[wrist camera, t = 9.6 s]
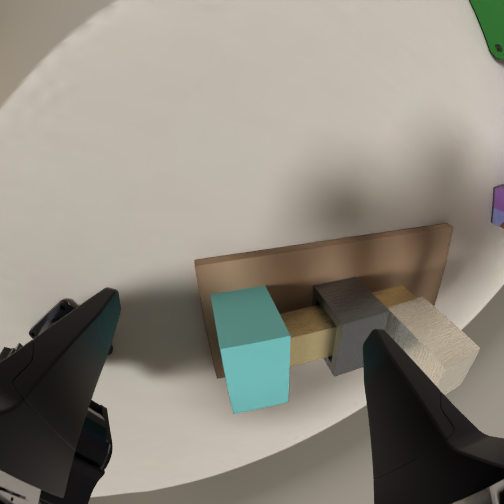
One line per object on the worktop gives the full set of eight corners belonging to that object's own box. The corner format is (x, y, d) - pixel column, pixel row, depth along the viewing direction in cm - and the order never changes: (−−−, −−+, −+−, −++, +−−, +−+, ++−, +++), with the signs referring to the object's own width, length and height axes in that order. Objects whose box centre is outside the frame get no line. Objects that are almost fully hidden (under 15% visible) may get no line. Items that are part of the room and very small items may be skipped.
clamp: (476, 45, 21) (531, 69, 16) (465, 45, 20) (528, 72, 14) (472, -26, 12) (531, -6, 7) (460, -35, 11) (527, -14, 5)
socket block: (221, 359, 24) (233, 413, 19) (210, 294, 21) (220, 349, 16) (268, 351, 25) (288, 402, 20) (265, 285, 22) (290, 335, 17)
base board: (215, 371, 26) (216, 378, 25) (194, 260, 21) (194, 266, 20) (425, 315, 30) (429, 319, 29) (446, 223, 25) (452, 226, 24)
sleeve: (310, 335, 25) (333, 376, 20) (313, 285, 23) (343, 324, 18) (348, 325, 26) (376, 362, 21) (355, 276, 24) (389, 311, 19)
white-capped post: (238, 354, 23) (270, 465, 13) (233, 316, 21) (269, 437, 12) (394, 315, 25) (460, 385, 16) (402, 280, 24) (480, 348, 14)
